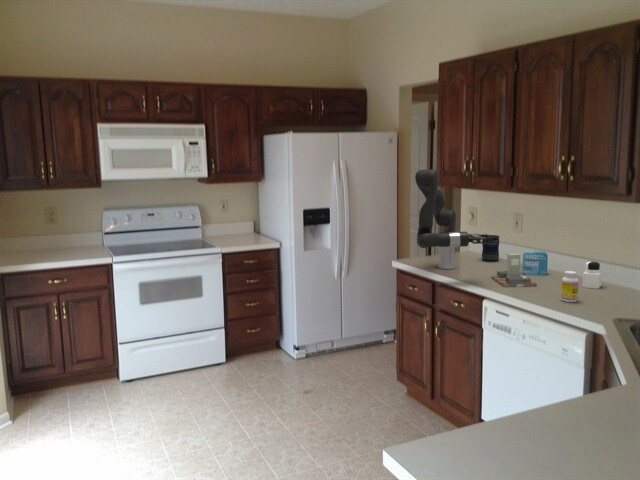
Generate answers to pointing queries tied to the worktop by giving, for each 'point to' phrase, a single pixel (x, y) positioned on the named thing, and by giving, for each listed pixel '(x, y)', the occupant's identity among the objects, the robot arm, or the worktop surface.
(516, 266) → the block
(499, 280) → the rail board
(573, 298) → the supplement bottle
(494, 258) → the storage jar
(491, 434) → the worktop surface
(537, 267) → the blue product box
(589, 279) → the medicine bottle
